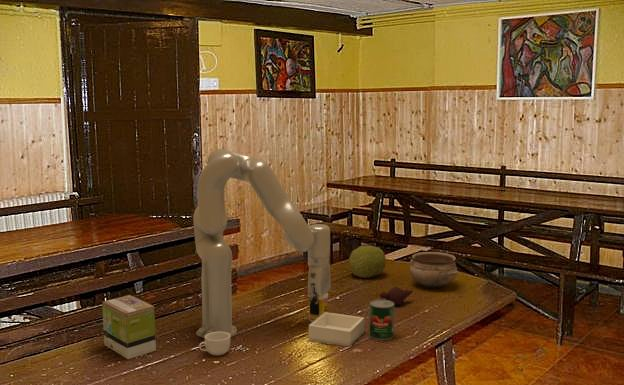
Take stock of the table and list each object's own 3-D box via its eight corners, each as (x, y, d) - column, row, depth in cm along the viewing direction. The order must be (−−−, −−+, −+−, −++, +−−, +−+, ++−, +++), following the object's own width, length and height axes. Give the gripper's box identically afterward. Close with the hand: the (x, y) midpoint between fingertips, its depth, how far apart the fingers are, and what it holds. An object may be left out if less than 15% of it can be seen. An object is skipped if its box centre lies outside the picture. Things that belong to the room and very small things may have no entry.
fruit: (359, 269, 297) (376, 240, 294) (380, 287, 287) (398, 258, 285) (337, 264, 285) (354, 234, 282) (358, 283, 275) (376, 252, 273)
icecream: (404, 282, 255) (373, 291, 247) (416, 282, 248) (385, 291, 240) (408, 300, 255) (377, 310, 247) (420, 300, 248) (389, 310, 240)
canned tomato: (374, 341, 212) (374, 308, 210) (365, 332, 219) (366, 300, 217) (397, 338, 214) (398, 305, 212) (388, 330, 221) (388, 298, 220)
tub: (350, 347, 207) (350, 331, 206) (308, 340, 212) (308, 325, 211) (364, 332, 219) (364, 317, 219) (325, 326, 225) (325, 312, 224)
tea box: (103, 346, 207) (100, 300, 205) (132, 338, 214) (130, 293, 212) (127, 360, 196) (125, 312, 194) (157, 351, 203) (155, 304, 201)
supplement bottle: (326, 325, 226) (326, 288, 224) (307, 323, 227) (307, 287, 225) (329, 318, 233) (329, 282, 231) (311, 317, 234) (311, 281, 232)
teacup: (223, 346, 207) (223, 329, 207) (235, 354, 201) (235, 337, 200) (194, 353, 202) (193, 336, 201) (205, 361, 196) (204, 344, 195)
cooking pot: (394, 283, 276) (395, 254, 274) (426, 275, 287) (427, 248, 285) (439, 298, 256) (440, 267, 254) (472, 289, 267) (473, 259, 265)
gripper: (319, 268, 217) (319, 320, 220) (338, 256, 233) (337, 305, 236) (298, 265, 220) (298, 317, 223) (318, 254, 236) (318, 302, 239)
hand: (318, 310), depth 229 cm, fingers closed on supplement bottle, 6 cm apart
